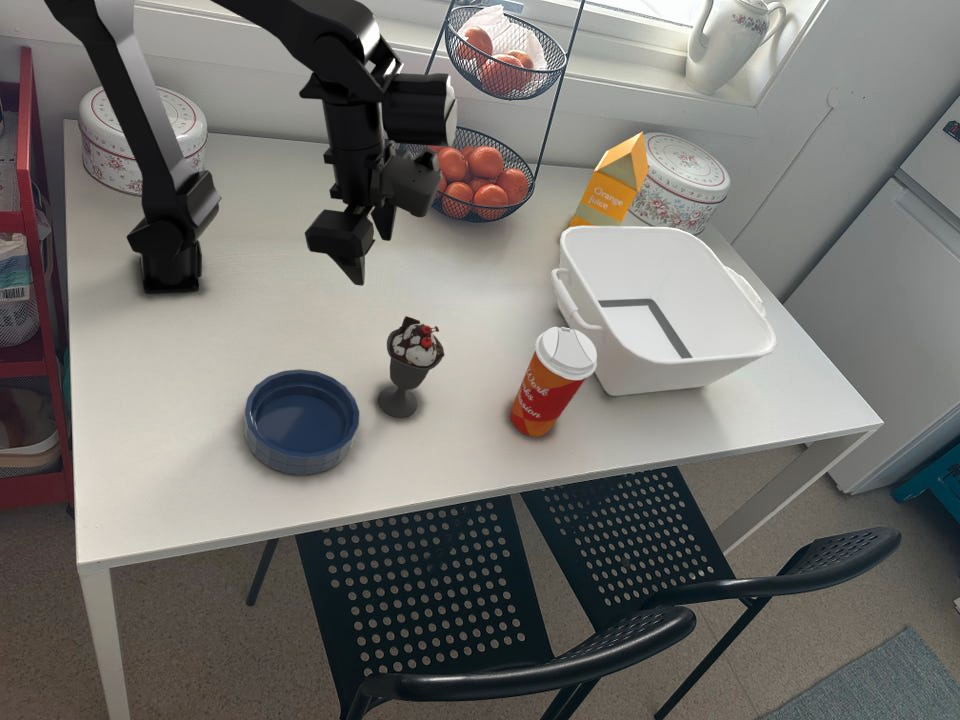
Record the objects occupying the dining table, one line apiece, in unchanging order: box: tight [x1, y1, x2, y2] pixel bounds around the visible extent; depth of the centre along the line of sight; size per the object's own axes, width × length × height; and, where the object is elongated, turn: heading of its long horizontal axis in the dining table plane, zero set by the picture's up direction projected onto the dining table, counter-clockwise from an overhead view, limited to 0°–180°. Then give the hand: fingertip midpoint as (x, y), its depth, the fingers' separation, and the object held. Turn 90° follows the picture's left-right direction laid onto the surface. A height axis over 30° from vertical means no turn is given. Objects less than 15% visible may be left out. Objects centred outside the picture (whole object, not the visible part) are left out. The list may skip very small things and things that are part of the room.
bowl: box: [242, 368, 360, 476], centre depth 80 cm, size 12×12×4 cm
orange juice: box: [567, 130, 650, 229], centre depth 117 cm, size 8×9×20 cm
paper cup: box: [510, 326, 597, 437], centre depth 87 cm, size 8×8×14 cm
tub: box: [550, 225, 778, 398], centre depth 103 cm, size 34×27×13 cm
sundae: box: [377, 315, 446, 418], centre depth 83 cm, size 7×7×15 cm
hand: (373, 261), depth 84 cm, fingers open, 9 cm apart
